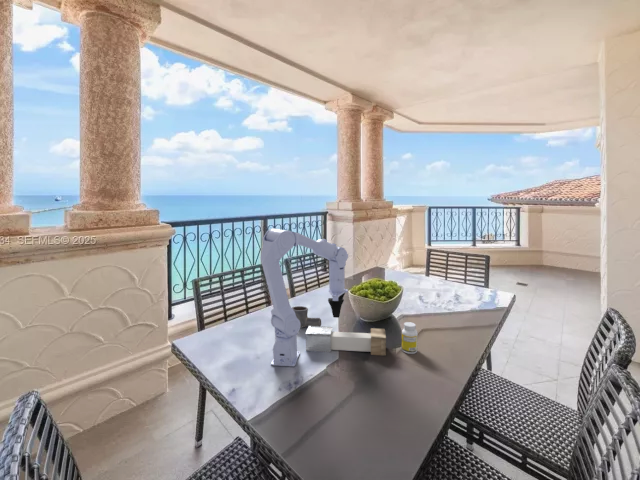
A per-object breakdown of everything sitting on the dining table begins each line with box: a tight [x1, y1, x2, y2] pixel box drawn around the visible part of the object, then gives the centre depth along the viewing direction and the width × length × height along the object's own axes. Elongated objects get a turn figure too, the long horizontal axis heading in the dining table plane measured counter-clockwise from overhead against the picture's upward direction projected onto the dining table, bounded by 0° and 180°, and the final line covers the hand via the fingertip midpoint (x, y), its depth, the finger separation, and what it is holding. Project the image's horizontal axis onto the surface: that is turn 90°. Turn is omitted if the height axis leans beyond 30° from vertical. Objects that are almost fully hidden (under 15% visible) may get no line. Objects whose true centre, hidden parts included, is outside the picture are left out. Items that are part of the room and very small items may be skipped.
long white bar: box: [331, 331, 371, 353], centre depth 115 cm, size 4×17×5 cm, turn 82°
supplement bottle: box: [401, 321, 419, 355], centre depth 113 cm, size 5×5×10 cm
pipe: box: [291, 305, 322, 329], centre depth 135 cm, size 6×13×8 cm, turn 77°
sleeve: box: [305, 326, 333, 353], centre depth 117 cm, size 7×9×6 cm
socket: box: [370, 327, 387, 357], centre depth 114 cm, size 7×5×6 cm
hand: (337, 313), depth 122 cm, fingers open, 7 cm apart
